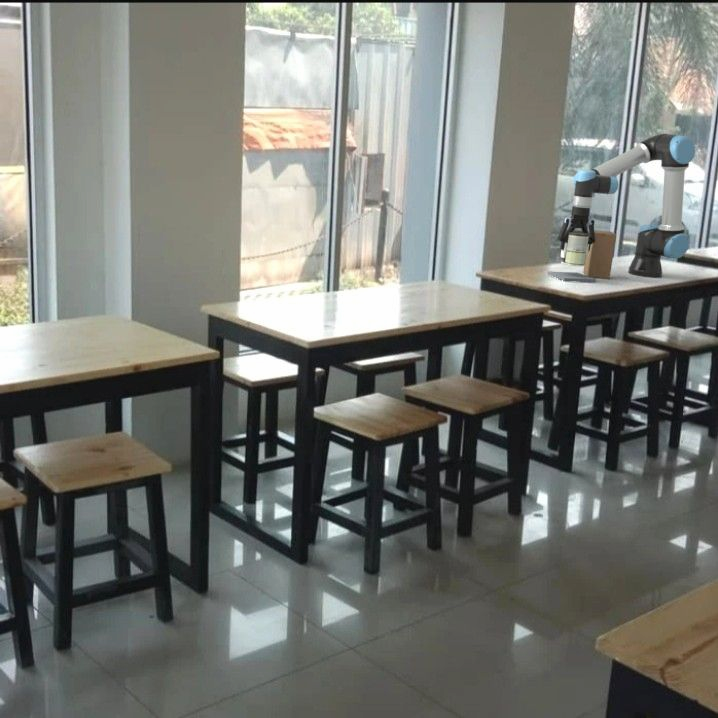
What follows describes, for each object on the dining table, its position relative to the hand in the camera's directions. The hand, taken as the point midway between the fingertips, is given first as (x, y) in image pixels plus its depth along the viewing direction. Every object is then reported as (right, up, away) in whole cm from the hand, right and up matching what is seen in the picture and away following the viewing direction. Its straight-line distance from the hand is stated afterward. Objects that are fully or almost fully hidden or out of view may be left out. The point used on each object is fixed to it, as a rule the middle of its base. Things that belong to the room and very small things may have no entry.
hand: (573, 257), depth 449 cm
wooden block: (+13, -7, +15) cm, 21 cm away
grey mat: (-1, -9, +2) cm, 9 cm away
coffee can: (0, -3, +1) cm, 3 cm away
